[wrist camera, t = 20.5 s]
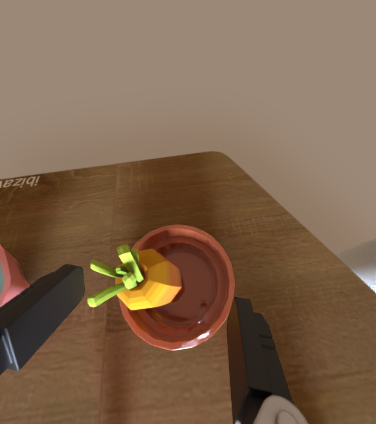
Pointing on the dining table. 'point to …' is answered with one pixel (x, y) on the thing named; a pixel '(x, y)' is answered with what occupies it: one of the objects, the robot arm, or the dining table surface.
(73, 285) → the robot arm
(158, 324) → the mixing bowl
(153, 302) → the carrot
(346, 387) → the dining table surface
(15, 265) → the cell model
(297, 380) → the dining table surface
